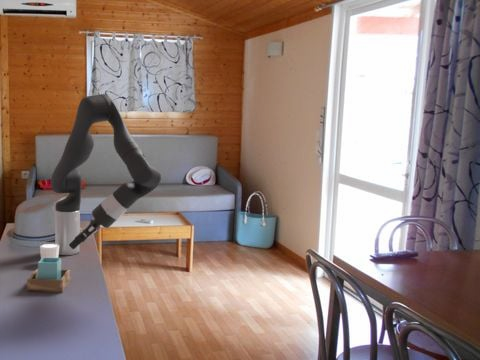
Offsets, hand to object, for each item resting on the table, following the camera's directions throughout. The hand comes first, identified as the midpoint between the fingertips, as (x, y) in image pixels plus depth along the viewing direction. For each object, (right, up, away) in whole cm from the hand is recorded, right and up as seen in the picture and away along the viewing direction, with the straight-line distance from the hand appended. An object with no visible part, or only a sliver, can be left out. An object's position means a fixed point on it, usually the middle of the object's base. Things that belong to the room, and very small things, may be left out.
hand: (74, 243), depth 188 cm
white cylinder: (-16, -11, +25) cm, 32 cm away
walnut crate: (-8, -14, +2) cm, 17 cm away
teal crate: (-8, -13, +2) cm, 16 cm away
